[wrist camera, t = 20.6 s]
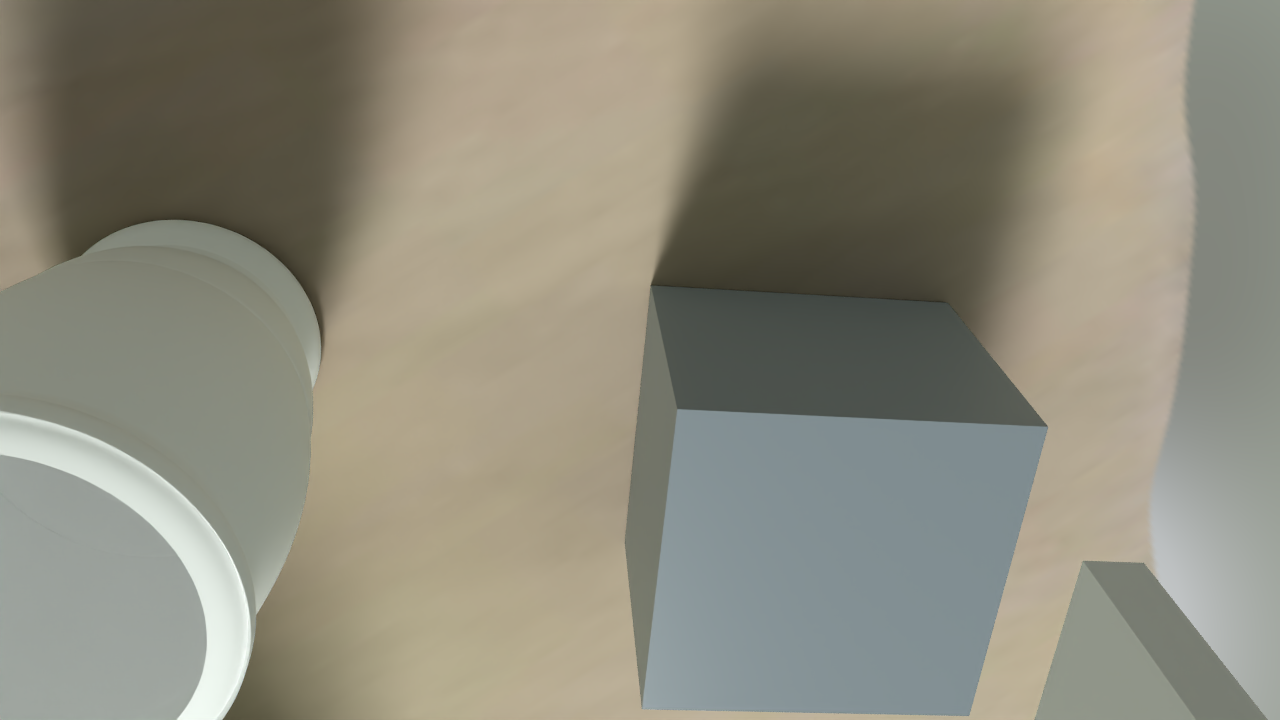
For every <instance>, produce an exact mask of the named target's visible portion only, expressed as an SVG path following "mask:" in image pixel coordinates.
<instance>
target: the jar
mask: <svg viewBox="0 0 1280 720" xmlns="http://www.w3.org/2000/svg"><path fill="white" fill-rule="evenodd" d="M320 360H321V338H320V331H319V326H318V322H317V318H316V315H315V312H314V310H313V307H312V305H311V303H310V300H309V298H308V297H307V295H306V293H305V291H304V290H303V288H302V286H301V285H300V283H299V282H298V281H297V279H296V278H295V277H294V276H293V274H292V273H291V272H290V271H289V270H288V269H287V268H286V267H285V266H284V264H283V263H281V262H280V261H279V260H278V259H277V258H276V257H275V256H273V255H272V254H271V253H270V252H268V251H267V250H266V249H264V248H263V247H261V246H260V245H258V244H257V243H255V242H253V241H252V240H250V239H248V238H246V237H244V236H242V235H240V234H238V233H236V232H233V231H231V230H228V229H225V228H222V227H219V226H215V225H212V224H208V223H202V222H196V221H188V220H159V221H151V222H146V223H141V224H137V225H133V226H130V227H127V228H124V229H122V230H119V231H117V232H115V233H113V234H111V235H109V236H107V237H105V238H103V239H102V240H100V241H99V242H97V243H96V244H94V245H93V246H92V247H91V248H89V249H88V250H87V251H86V252H85V253H84V254H83V255H82V256H80V257H77V258H74V259H71V260H68V261H66V262H63V263H61V264H59V265H56V266H54V267H52V268H50V269H48V270H46V271H44V272H42V273H40V274H38V275H36V276H34V277H32V278H29V279H27V280H25V281H22V282H20V283H18V284H16V285H13V286H11V287H9V288H7V289H5V290H3V291H1V292H0V720H222V719H223V718H224V717H225V715H226V714H227V712H228V711H229V709H230V707H231V706H232V704H233V702H234V700H235V698H236V696H237V694H238V692H239V690H240V687H241V685H242V682H243V679H244V676H245V673H246V670H247V667H248V664H249V661H250V657H251V653H252V649H253V644H254V638H255V631H256V614H257V613H258V611H259V610H260V608H261V606H262V605H263V603H264V601H265V600H266V598H267V596H268V594H269V593H270V591H271V589H272V587H273V585H274V583H275V581H276V580H277V578H278V576H279V574H280V571H281V569H282V567H283V565H284V563H285V561H286V558H287V556H288V554H289V551H290V549H291V546H292V543H293V541H294V538H295V535H296V532H297V529H298V526H299V522H300V519H301V515H302V511H303V507H304V503H305V498H306V493H307V487H308V480H309V472H310V458H311V433H312V423H313V391H312V390H313V387H314V385H315V382H316V379H317V376H318V372H319V367H320Z"/></svg>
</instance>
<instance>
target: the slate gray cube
mask: <svg viewBox="0 0 1280 720" xmlns="http://www.w3.org/2000/svg"><path fill="white" fill-rule="evenodd" d="M1047 429H1048V426H1047V425H1046V424H1045V422H1044V421H1043V420H1042V419H1041V418H1040V416H1039V415H1038V414H1037V413H1036V411H1035V410H1034V409H1033V408H1032V406H1031V405H1030V404H1029V403H1028V401H1027V400H1026V399H1025V398H1024V397H1023V395H1022V394H1021V393H1020V392H1019V390H1018V389H1017V388H1016V387H1015V385H1014V384H1013V383H1012V382H1011V380H1010V379H1009V378H1008V377H1007V376H1006V374H1005V373H1004V372H1003V371H1002V369H1001V368H1000V367H999V366H998V364H997V363H996V362H995V361H994V359H993V358H992V357H991V356H990V354H989V353H988V352H987V351H986V350H985V348H984V347H983V346H982V345H981V343H980V342H979V341H978V340H977V338H976V337H975V336H974V335H973V333H972V332H971V331H970V330H969V329H968V327H967V326H966V325H965V324H964V322H963V321H962V320H961V319H960V317H959V316H958V315H957V314H956V312H955V311H954V310H953V309H952V308H951V306H950V305H949V304H948V303H943V302H926V301H909V300H892V299H875V298H858V297H841V296H823V295H806V294H789V293H772V292H755V291H738V290H721V289H704V288H687V287H670V286H653V285H651V288H650V298H649V308H648V318H647V328H646V338H645V347H644V357H643V367H642V377H641V387H640V397H639V407H638V416H637V426H636V436H635V446H634V456H633V466H632V475H631V485H630V495H629V505H628V515H627V525H626V534H625V550H626V559H627V569H628V579H629V588H630V598H631V608H632V617H633V627H634V637H635V647H636V656H637V666H638V676H639V685H640V695H641V705H642V709H657V710H706V711H754V712H803V713H851V714H899V715H948V716H969V715H970V711H971V707H972V704H973V700H974V696H975V693H976V689H977V685H978V682H979V678H980V674H981V671H982V667H983V663H984V660H985V656H986V652H987V649H988V645H989V641H990V638H991V634H992V630H993V627H994V623H995V619H996V616H997V612H998V608H999V605H1000V601H1001V597H1002V594H1003V590H1004V586H1005V583H1006V579H1007V576H1008V572H1009V568H1010V565H1011V561H1012V557H1013V554H1014V550H1015V546H1016V543H1017V539H1018V535H1019V532H1020V528H1021V524H1022V521H1023V517H1024V513H1025V510H1026V506H1027V502H1028V499H1029V495H1030V491H1031V488H1032V484H1033V480H1034V477H1035V473H1036V469H1037V466H1038V462H1039V458H1040V455H1041V451H1042V447H1043V444H1044V440H1045V436H1046V433H1047Z"/></svg>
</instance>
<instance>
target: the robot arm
mask: <svg viewBox="0 0 1280 720" xmlns="http://www.w3.org/2000/svg"><path fill="white" fill-rule="evenodd" d="M1035 720H1267V718H1266V717H1265V716H1264V715H1263V713H1262V712H1261V711H1260V709H1259V708H1258V707H1257V706H1256V704H1255V703H1254V702H1253V701H1252V699H1251V698H1250V697H1249V695H1248V694H1247V693H1246V692H1245V691H1244V689H1243V688H1242V687H1241V685H1239V683H1238V682H1237V681H1236V679H1235V678H1234V677H1233V675H1232V674H1231V673H1230V671H1229V670H1228V669H1227V668H1226V666H1225V665H1224V664H1223V663H1222V661H1221V660H1220V659H1219V658H1218V656H1217V655H1216V654H1215V653H1214V651H1213V650H1212V649H1211V647H1210V646H1209V645H1208V644H1207V642H1206V641H1205V640H1204V639H1203V637H1202V636H1201V635H1200V634H1199V632H1198V631H1197V630H1196V628H1195V627H1194V626H1193V625H1192V624H1191V622H1190V621H1189V620H1188V618H1187V617H1186V616H1185V615H1184V613H1183V612H1182V611H1181V610H1180V608H1179V607H1178V606H1177V604H1176V603H1175V602H1174V601H1173V599H1172V598H1171V597H1170V596H1169V594H1168V593H1167V592H1166V590H1165V589H1164V588H1163V587H1162V585H1161V584H1160V583H1159V582H1158V580H1157V579H1156V578H1155V577H1154V575H1153V574H1152V573H1151V571H1150V570H1149V569H1148V568H1147V566H1146V565H1145V564H1144V563H1130V562H1102V561H1083V562H1082V566H1081V569H1080V572H1079V575H1078V579H1077V582H1076V585H1075V589H1074V592H1073V595H1072V598H1071V602H1070V605H1069V608H1068V612H1067V615H1066V618H1065V621H1064V625H1063V628H1062V631H1061V635H1060V638H1059V641H1058V644H1057V648H1056V651H1055V654H1054V658H1053V661H1052V664H1051V667H1050V671H1049V674H1048V677H1047V681H1046V684H1045V687H1044V690H1043V694H1042V697H1041V700H1040V704H1039V707H1038V710H1037V713H1036V717H1035Z"/></svg>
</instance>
